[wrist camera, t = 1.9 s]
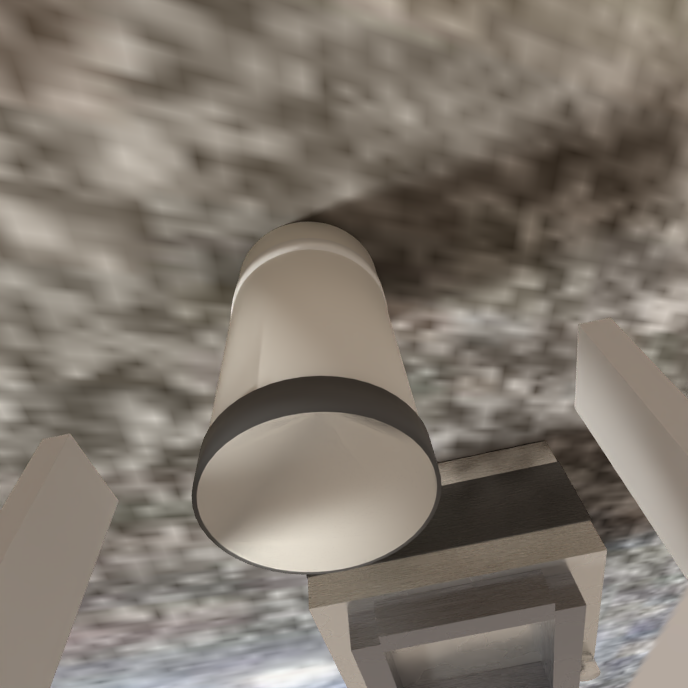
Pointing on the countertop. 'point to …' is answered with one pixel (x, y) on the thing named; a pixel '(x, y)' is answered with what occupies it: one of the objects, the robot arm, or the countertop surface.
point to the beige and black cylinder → (313, 415)
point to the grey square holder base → (476, 586)
